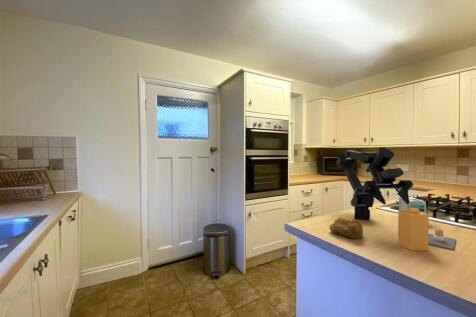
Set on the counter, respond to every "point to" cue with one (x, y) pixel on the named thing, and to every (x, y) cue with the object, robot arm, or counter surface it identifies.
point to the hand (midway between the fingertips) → (396, 203)
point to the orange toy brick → (413, 229)
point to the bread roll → (347, 228)
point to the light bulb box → (413, 204)
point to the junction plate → (442, 244)
